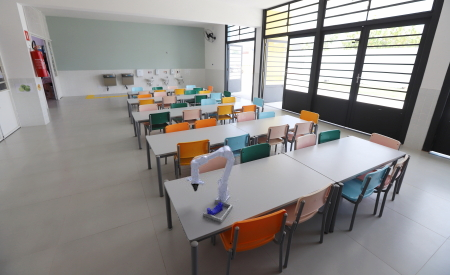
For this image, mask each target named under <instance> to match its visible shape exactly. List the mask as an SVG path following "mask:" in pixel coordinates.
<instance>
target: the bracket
mask: <svg viewBox="0 0 450 275" xmlns="http://www.w3.org/2000/svg"><path fill="white" fill-rule="evenodd" d="M216 199H217V198H215V199H214V204H217V205H218V204H219V202H221V203H223V207H226V208H227V207H228V208H227V209H226V211H225V213H224V214H223V215H222V216H221V217H218V216H215V215H210V214H207V212H203V213H202V216H203V217H205V218H208V219H209V220H213V221H216V222H217V223H223V221H224V220H225V218H226V217H227V215H228V214H229V213H230V212H231V210H232V209H233V204H231V203H228V202H227V201H226V202H223V201H220V200H216Z"/></svg>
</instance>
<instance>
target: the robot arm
mask: <svg viewBox="0 0 450 275" xmlns="http://www.w3.org/2000/svg"><path fill="white" fill-rule="evenodd" d="M217 157H221V158H225V159H226V160H227V161H226V164H225V167H224V170H223V173H222V175H221V177H220V178H219V180H218V181H217V184H218V188H217V198H215V199H216V200H220V201H223V202H226V203H227V201H228V199H230V190H229V189H230V188H229V187H228V185H229V178H230V176H231V172H232V169H233V167H234V164H235V162H236V161H235V160H236V158H235V156H234V153H233V151H232V148H231V147H230V146H229V145H223V146H221V147H220V148H218V149H217V150H215V151H213V152H211V153H210V154H207V155H201V156H200V157H198V158H195V159H192V160H191V161H190V168H191V169H190V176H191V177H188V176H187V178H186V181H187V182H188V181H189V182H190V185H191V187H192V189H193V190H194V192H196V193H197V191H198V188H199V185H201V186H204V185H205V182H204V181H203V180H202V179H200V170H199V168H200V167H201V166H203V165H205V164H208V162H209V161H210V160H213V159H215V158H217Z"/></svg>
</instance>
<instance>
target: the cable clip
mask: <svg viewBox="0 0 450 275" xmlns="http://www.w3.org/2000/svg"><path fill="white" fill-rule="evenodd" d="M223 209H224V205H223V203H221V202H219V204H218V203H217V204H215V206H214V207H213V208H210V207H207V208H206V213H207V214H210V215H213V216H215V215H217V214H218V213H220V212H222V211H223Z"/></svg>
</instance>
